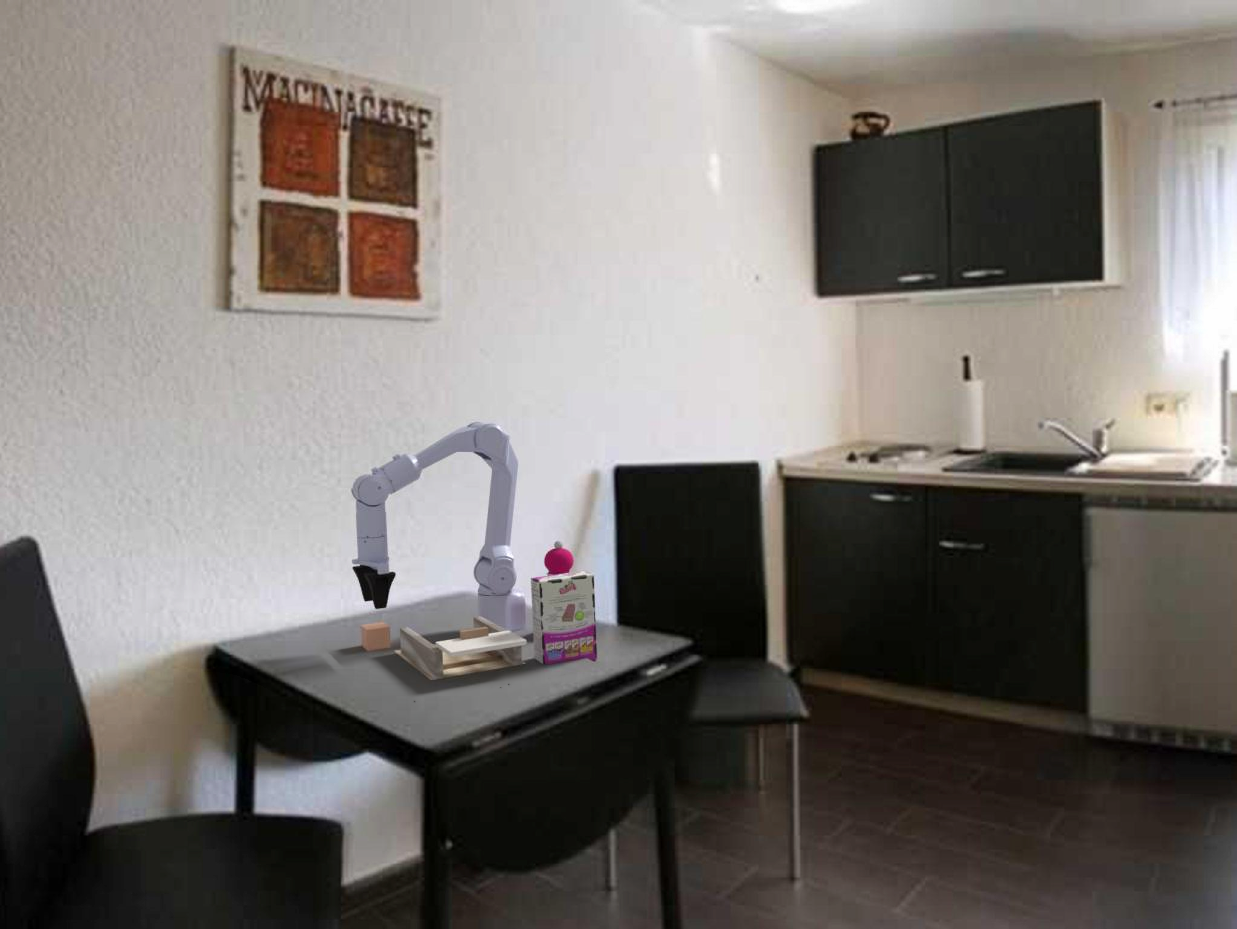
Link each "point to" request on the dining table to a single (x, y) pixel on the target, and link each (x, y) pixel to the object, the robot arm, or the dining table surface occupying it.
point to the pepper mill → (558, 560)
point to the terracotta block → (375, 636)
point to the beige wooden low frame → (444, 666)
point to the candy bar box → (564, 617)
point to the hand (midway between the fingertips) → (375, 604)
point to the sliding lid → (479, 642)
